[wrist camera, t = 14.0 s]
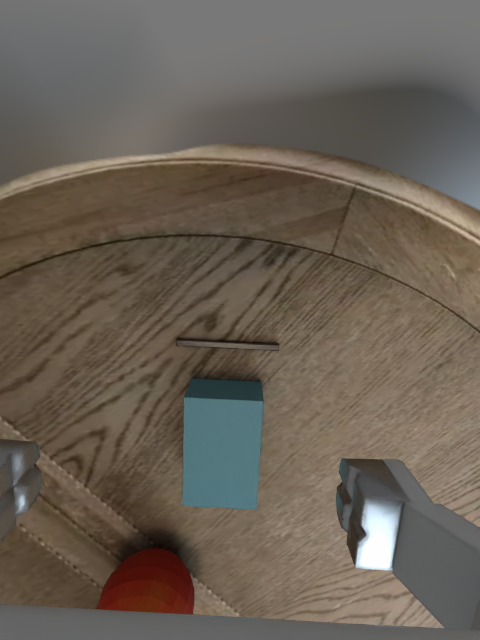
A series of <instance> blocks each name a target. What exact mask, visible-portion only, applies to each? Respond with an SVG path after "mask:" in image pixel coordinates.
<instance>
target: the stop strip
mask: <svg viewBox="0 0 480 640" xmlns="http://www.w3.org/2000/svg"><path fill="white" fill-rule="evenodd" d="M176 346H191V347H211V348H231V349H250V350H270V351H279V344H274V343H255V342H235V341H215V340H195V339H177V340H176Z"/></svg>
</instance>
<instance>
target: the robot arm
mask: <svg viewBox="0 0 480 640" xmlns="http://www.w3.org/2000/svg"><path fill="white" fill-rule="evenodd" d="M39 458H40V452H39V445H38V444H36V443H35V442H31V441H17V440H4V439H0V544H1V542H2V541H3V540H4V539H5V538H6V536H7V535H8V534H9V533H10V532H11V530H12V529H13V528H14V527H15V526H16V517H17V516H19V515H21V514H23V513H25V512H26V511H28V510H29V509H30V508H31V506H32V505H33V504H34V503H35V501H36V499H37V497H38V494H39V492H40V490H41V484H42V472H41V470H40V469H39V468H38V467H37V465H36V464H35V463H36V462H37V460H38V459H39ZM339 474H340V476H341V479H342V482H341V484H340V485H339V486H338V487H337V494H336V506H337V514H338V519H339V522H340V525H341V527H342V528H343V529H344V530H345V531H346V532H347V533H348V534H347V542H346V543H347V545H348V548H349V551H350V554H351V557H352V560H353V563H354V565H355V568H365V569H377V570H389V571H393V572H392V573H393V574H394V575H395V576H396V577H397V578H398V579H399V580H400V581H401V582H402V583H403V584H404V585H405V587H406V588H407V589H408V590H409V591H410V592H411V593H412V594H413V595H414V596H415V597H416V598H417V599H418V600H419V601H420V602H421V603H422V604H423V605H424V606H425V608H426V609H427V610H428V611H429V612H430V613H431V614H432V615H433V616H434V617H435V618H436V619H437V620H438V621H439V622H440V623H441V624H442V625H443V626H444V627H445V629H443V628H425V627H406V626H387V625H367V624H347V623H330V622H313V621H295V620H278V619H261V618H243V617H226V616H209V615H192V614H173V613H155V612H137V611H118V610H100V609H81V608H63V607H44V606H26V605H8V604H0V640H480V528H479V527H478V526H476V525H475V524H473V523H471V522H470V521H468V520H466V519H465V518H463V517H461V516H460V515H458V514H456V513H455V512H453V511H451V510H450V509H448V508H446V507H445V506H443V505H441V504H434V503H433V502H432V500H431V499H430V498H429V496H428V495H427V494H426V492H425V491H424V490H423V488H422V487H421V486H420V484H419V483H418V482H417V480H416V479H415V478H414V476H413V475H412V474H411V472H410V471H409V470H408V468H407V467H406V466H405V464H404V463H403V462H402V461H400V460H393V459H380V460H378V459H345V458H342V460H341V463H340V468H339Z"/></svg>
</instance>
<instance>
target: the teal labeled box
mask: <svg viewBox="0 0 480 640" xmlns="http://www.w3.org/2000/svg"><path fill="white" fill-rule="evenodd" d="M263 403H264V401H263V393H262V385H261V382H255V381H235V380H214V379H194V378H192V379H191V382H190V384H189V387H188V389H187V391H186V394H185V396H184V425H183V504H182V505H183V506H196V507H216V508H235V509H255V510H256V509H257V496H258V480H259V465H260V449H261V434H262V418H263Z"/></svg>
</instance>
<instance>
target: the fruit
mask: <svg viewBox="0 0 480 640" xmlns="http://www.w3.org/2000/svg"><path fill="white" fill-rule="evenodd" d="M97 609H100V610H118V611H137V612H155V613H173V614H192V615H193V609H194V587H193V583H192V579H191V576H190V573H189V570H188V569H187V567H186V566H185V565H184V563H183V562H182V561H181V559H180V558H179V557H178V556H177V555H175V554H174V553H172V552H171V551H168V550H165V549H162V548H148V549H143V550H141V551H139V552H137V553H135V554H133V555H131V556H129V557H128V558H126V559H125V560H124V561H123V562H122V563H121V564H120V565H119V566H118V567H117V569H116V570H115V571H114V572H113V573H112V574H111V575H110V577H109V579H108V580H107V582H106V584H105V585H104V588H103V591H102V594H101V597H100V600H99V604H98V607H97Z"/></svg>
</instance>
